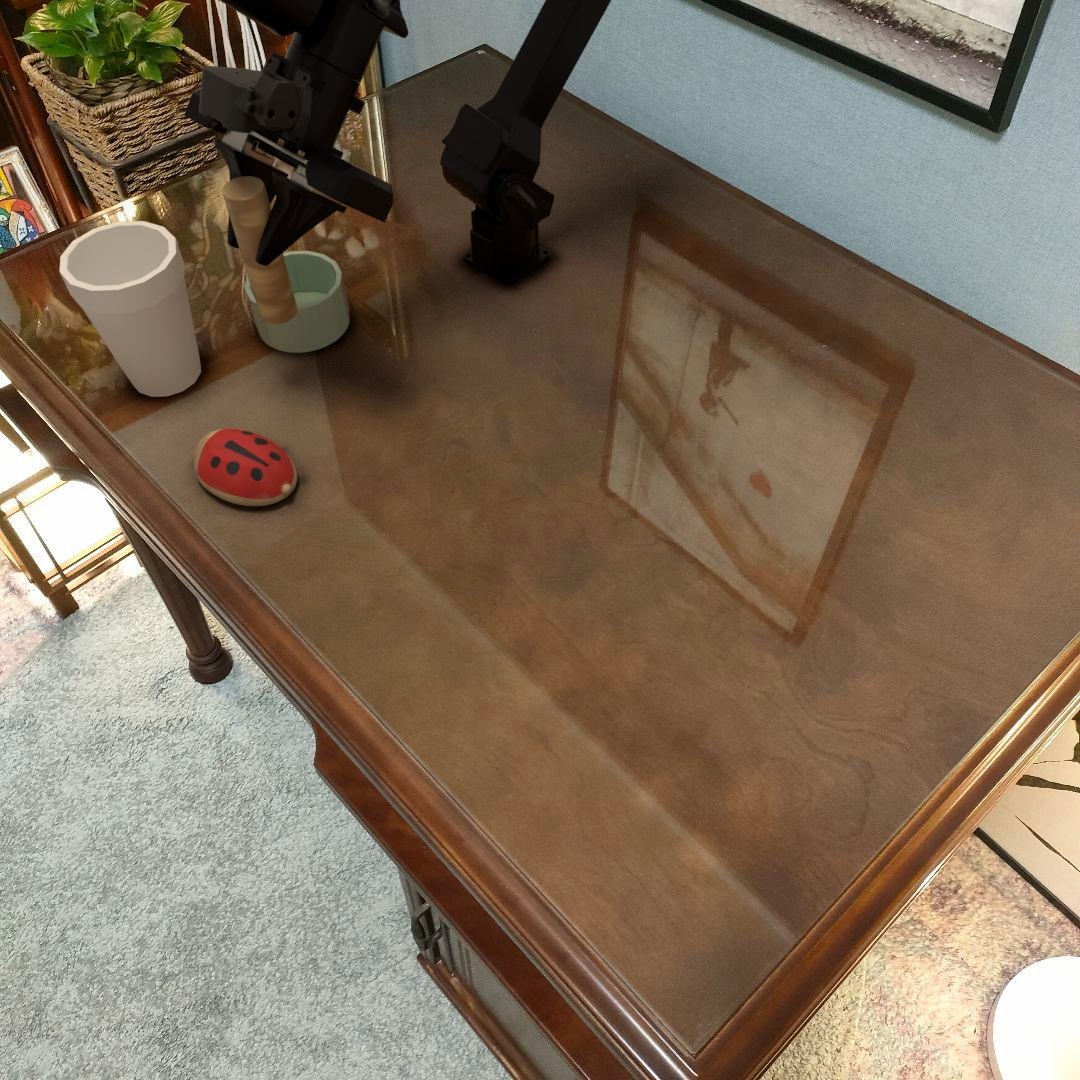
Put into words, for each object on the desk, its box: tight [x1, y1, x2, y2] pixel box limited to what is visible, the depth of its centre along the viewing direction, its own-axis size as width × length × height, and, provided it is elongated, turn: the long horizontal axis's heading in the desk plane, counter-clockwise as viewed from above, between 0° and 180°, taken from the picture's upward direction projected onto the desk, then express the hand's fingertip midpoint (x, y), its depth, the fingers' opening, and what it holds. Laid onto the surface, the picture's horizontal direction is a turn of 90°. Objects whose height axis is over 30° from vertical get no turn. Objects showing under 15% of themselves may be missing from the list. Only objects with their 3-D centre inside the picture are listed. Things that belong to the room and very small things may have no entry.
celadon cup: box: [244, 250, 351, 354], centre depth 96 cm, size 9×9×5 cm
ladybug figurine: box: [193, 428, 298, 507], centre depth 84 cm, size 7×10×4 cm
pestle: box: [221, 176, 298, 324], centre depth 82 cm, size 3×3×12 cm
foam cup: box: [59, 220, 202, 398], centre depth 89 cm, size 10×9×13 cm
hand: (246, 255), depth 81 cm, fingers closed on pestle, 3 cm apart
